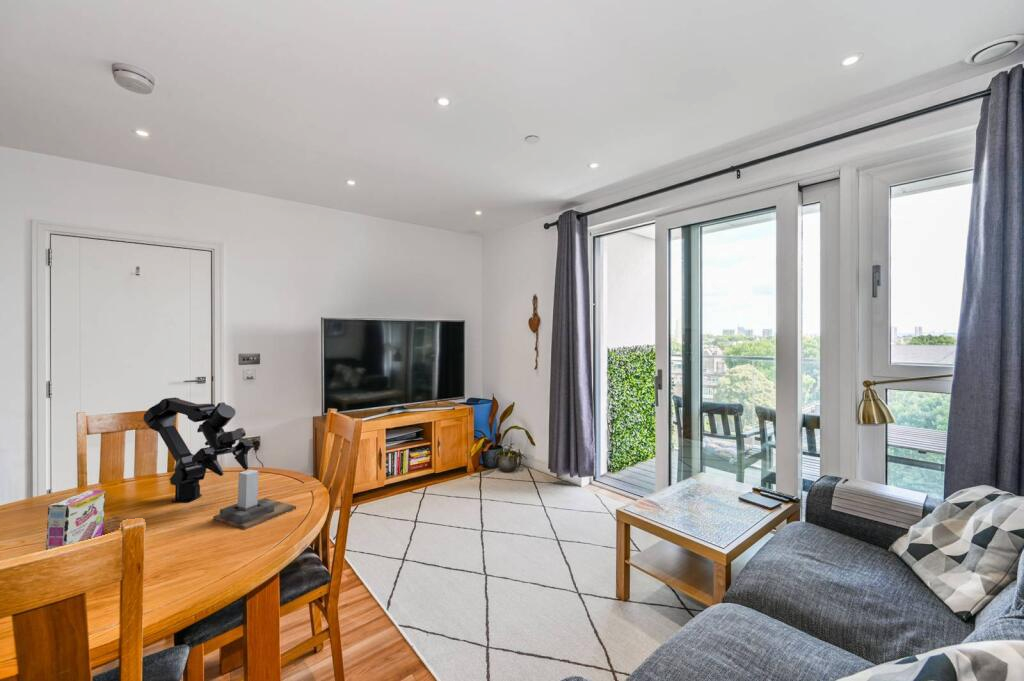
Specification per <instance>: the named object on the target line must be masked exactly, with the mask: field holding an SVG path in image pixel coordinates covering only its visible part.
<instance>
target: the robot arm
mask: <svg viewBox="0 0 1024 681" xmlns="http://www.w3.org/2000/svg"><path fill="white" fill-rule="evenodd" d="M178 414H182V415H185V416H187V419H188V420H189V421H191V422H193V423H198V422H202V423H201V424H199V426H198V427H197V431H196V432H197V433H202V434H203V437H205V438H204V439H205V440H206V441H205V442H204V445H205V446H207V447H202V448H200V449H199V450H198V451H197V452H195V454H193V453H192V451H191V450H190V449H189V447H188V445H187V444H186V442H185V441H184V439H183V437H182V435H181V434H180V433H179V431H178V429H177V427H176V426H175V421H176V415H178ZM235 416H236V409H235V408H234V407H232V406H231V405H229V404H226V403H225V402H218V403H217V405H215V404H213V403H194V402H191V401H188V400H184V399H180V398H179V397H167V398H163V399H161V400H160V401H159V402H158V403H156V404H155V405H153V406H151V407H149V408H148V410H147V411H146V412H145V413H144V414H143V421H144V422H145V424H146V425H147V427H148V428H149V429H150V430H153V431H156V432H157V433H159V436H160V437H161V438H162V440H163V442H164V444H165V446H166V447H167V449H168V450H169V452H170V454H171V456H172V458H173V459H174V461H175V464H174V469H173V470H174V472H173V474H172V475H171V477H170V478H169V482H170V485H172V486H175V487H174V488H175V492H174V494H175V496H174V499H171V502H174V503H190V502H193V501H194V500H196V499H198V498H200V497H202V496H203V494H201V485H200V481H203V480H204V478H205V475H206V473H207V469H208V470H210V471H211V472H212V473H215V474H216V475H218V476H220V477H222V476H224V471H223V469H222V467H221V465H220V461H218V456H221V455H227V454H232V455H233V456H234V460H235V461H236V462H237V463H238V464H239V465H240V467H242V469H244V471H247V470H249V461H248V457H249V456H248V453H249V451H250V450H251V449H252V448H253V447H254V446H255V445H254V444H253V442H252V440H250V439H249V440H248V439H247V440H243V439H244V437H246V435H247V434H246V431H245V429H244V428H243V427H240V428H239V427H238V428H237V429H235V430H230V431H225V429H224V428H225V426H227V425H228V424H229V422H230V421H231V420H232V419H233V418H234V417H235ZM239 440H241V441H239ZM242 440H243V441H242ZM237 441H239V442H238V443H237ZM235 444H236V445H235ZM233 445H235V446H233Z"/></svg>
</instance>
